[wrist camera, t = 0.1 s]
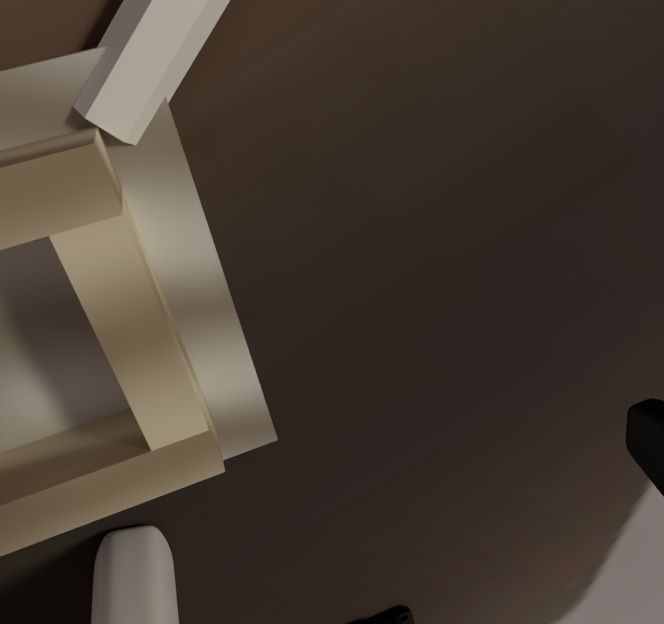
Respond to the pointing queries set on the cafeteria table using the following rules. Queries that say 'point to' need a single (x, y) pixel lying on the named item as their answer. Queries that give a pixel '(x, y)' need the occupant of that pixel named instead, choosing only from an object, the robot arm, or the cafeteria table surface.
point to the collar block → (107, 316)
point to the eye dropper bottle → (134, 579)
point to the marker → (144, 61)
